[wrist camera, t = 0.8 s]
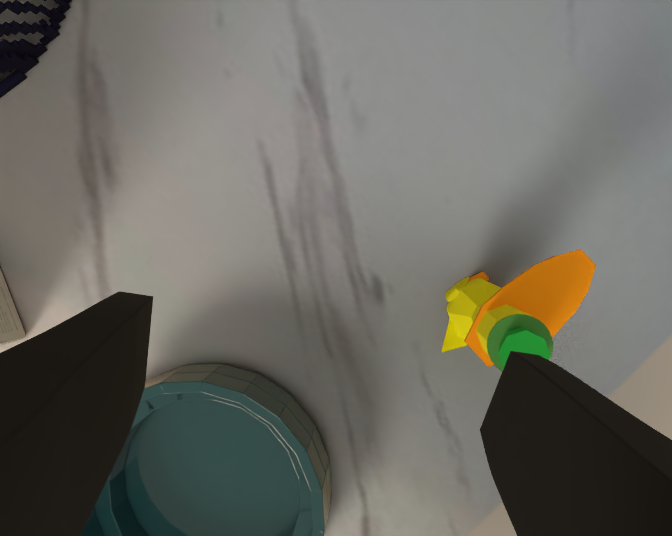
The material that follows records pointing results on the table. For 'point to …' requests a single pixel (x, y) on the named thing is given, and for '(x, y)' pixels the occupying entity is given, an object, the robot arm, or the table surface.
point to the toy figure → (517, 308)
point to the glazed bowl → (216, 461)
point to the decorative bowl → (22, 51)
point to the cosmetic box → (8, 316)
